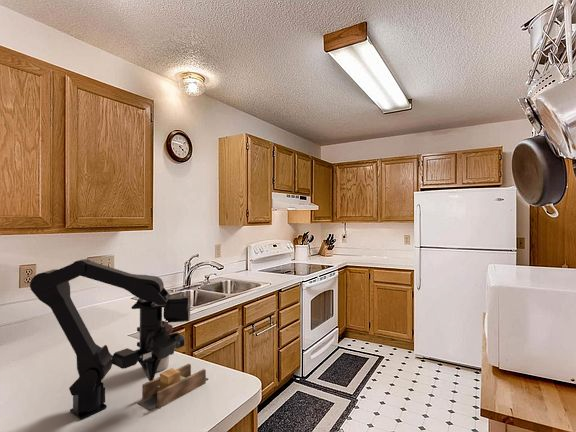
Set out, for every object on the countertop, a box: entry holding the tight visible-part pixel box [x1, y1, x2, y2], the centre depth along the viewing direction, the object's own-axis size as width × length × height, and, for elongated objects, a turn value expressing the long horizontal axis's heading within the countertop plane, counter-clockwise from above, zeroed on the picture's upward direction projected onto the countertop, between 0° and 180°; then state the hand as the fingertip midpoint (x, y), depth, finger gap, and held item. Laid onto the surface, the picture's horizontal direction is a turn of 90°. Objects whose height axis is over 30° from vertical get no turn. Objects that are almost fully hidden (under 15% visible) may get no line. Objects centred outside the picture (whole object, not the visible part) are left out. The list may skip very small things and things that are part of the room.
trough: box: [137, 363, 209, 411], centre depth 95 cm, size 20×8×4 cm, turn 146°
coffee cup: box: [156, 320, 174, 373], centre depth 110 cm, size 10×10×15 cm
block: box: [159, 368, 180, 389], centre depth 93 cm, size 4×4×4 cm
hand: (150, 380), depth 88 cm, fingers closed
